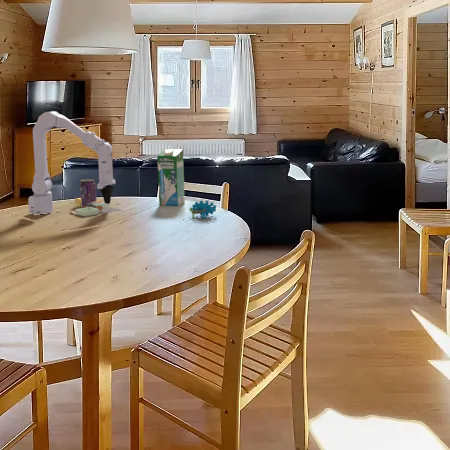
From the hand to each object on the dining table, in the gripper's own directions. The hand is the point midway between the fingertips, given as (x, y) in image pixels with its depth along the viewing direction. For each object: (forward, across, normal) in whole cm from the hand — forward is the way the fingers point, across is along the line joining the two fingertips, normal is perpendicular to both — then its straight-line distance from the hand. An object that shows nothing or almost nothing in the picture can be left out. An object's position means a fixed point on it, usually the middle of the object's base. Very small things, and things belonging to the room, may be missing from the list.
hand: (107, 203), depth 261 cm
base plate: (+5, +1, +7) cm, 9 cm away
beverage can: (+5, +16, +16) cm, 23 cm away
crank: (+1, +1, +5) cm, 5 cm away
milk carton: (+5, +26, -20) cm, 33 cm away
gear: (+5, 0, -42) cm, 43 cm away
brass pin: (+4, 0, +13) cm, 14 cm away
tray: (+4, -6, +6) cm, 10 cm away
